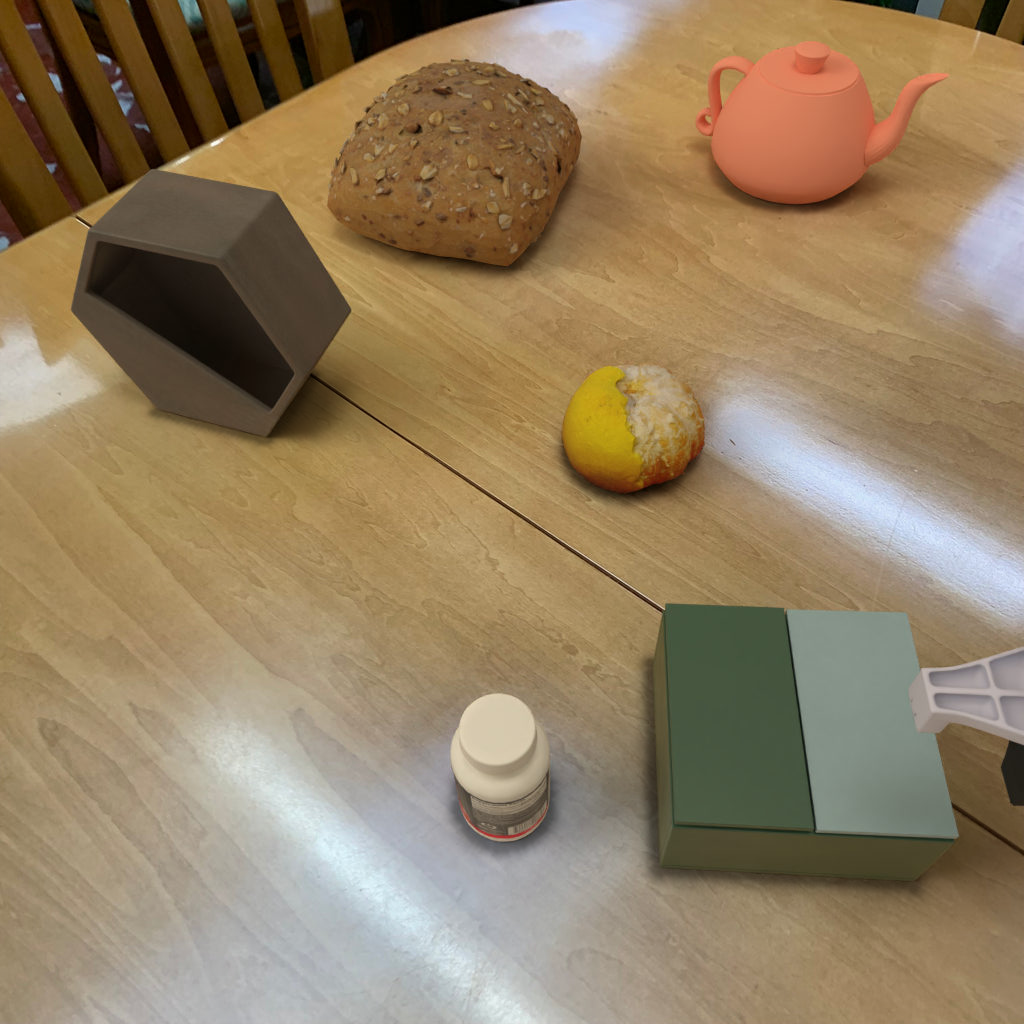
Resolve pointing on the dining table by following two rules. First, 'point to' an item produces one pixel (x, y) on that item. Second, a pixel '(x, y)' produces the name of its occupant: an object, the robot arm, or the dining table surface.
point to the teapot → (801, 123)
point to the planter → (208, 298)
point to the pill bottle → (501, 767)
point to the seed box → (747, 757)
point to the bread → (456, 163)
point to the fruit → (632, 427)
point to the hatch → (865, 726)
